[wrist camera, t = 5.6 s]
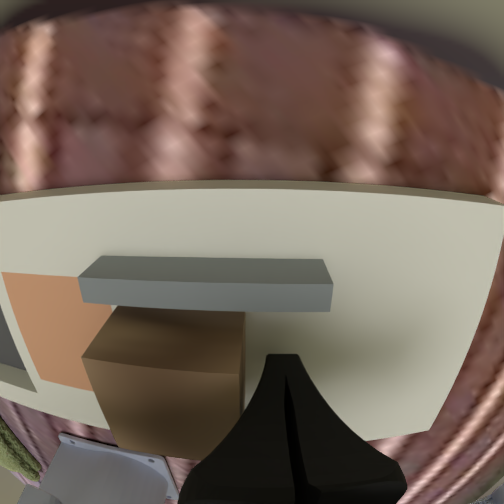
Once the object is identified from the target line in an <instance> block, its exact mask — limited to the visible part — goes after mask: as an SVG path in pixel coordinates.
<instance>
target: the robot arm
mask: <svg viewBox="0 0 504 504" xmlns="http://www.w3.org/2000/svg"><path fill="white" fill-rule="evenodd" d="M58 437H59V439H60V441H61V444H60V446H59V448H58V450H57V452H56V454H55V456H54V458H53V460H52V462H51V464H50V466H49V468H48V470H47V472H46V474H45V476H44V478H43V480H42V482H41V485H40V487H39V488H37V487H35V486H32V485H30V484H26V486H25V488H24V490H23V492H22V494H21V496H20V499H19V501H18V503H17V504H164V503H165V499H166V498H167V499H173V500H178V504H396V503H397V502H398V501H399V499H400V498H401V497H402V496H403V495H404V493H405V492H406V490H407V483H406V479H405V476H404V474H403V472H402V470H401V468H400V466H399V464H398V462H396V461H394V460H393V459H391V458H389V457H388V456H386V455H384V454H382V453H381V452H379V451H378V450H376V449H375V448H373V447H372V446H371V445H369V444H368V443H367V442H365V441H364V440H363V439H362V438H361V437H360V436H358V435H357V434H356V433H355V432H354V431H353V430H351V429H350V428H349V427H348V426H347V425H346V424H345V423H344V422H343V421H342V420H341V419H340V417H339V416H338V415H337V414H336V413H335V412H334V411H333V409H332V408H331V407H330V406H329V404H328V403H327V402H326V401H325V399H324V398H323V396H322V395H321V394H320V392H319V391H318V389H317V388H316V386H315V385H314V383H313V381H312V380H311V378H310V376H309V375H308V373H307V371H306V369H305V367H304V365H303V363H302V361H301V359H300V356H299V355H298V354H268V355H266V360H265V365H264V369H263V372H262V375H261V378H260V381H259V383H258V385H257V388H256V390H255V392H254V394H253V396H252V398H251V400H250V402H249V404H248V406H247V407H246V409H245V411H244V412H243V414H242V415H241V417H240V418H239V420H238V421H237V423H236V424H235V425H234V427H233V428H232V429H231V431H230V432H229V433H228V434H227V436H226V437H225V438H224V439H223V440H222V441H221V442H220V443H219V445H218V446H217V447H216V448H215V449H214V450H213V451H212V452H211V453H210V454H209V455H208V456H207V457H205V458H204V459H203V460H202V461H201V462H200V463H198V464H197V465H196V466H195V467H194V468H193V469H191V471H190V473H189V475H188V476H187V478H186V480H185V482H184V484H183V486H182V488H181V491H180V494H179V492H178V490H177V488H176V485H175V483H174V481H173V478H172V476H171V473H170V471H169V468H168V466H167V463H166V461H165V459H164V458H163V457H162V456H160V455H155V454H149V453H143V452H138V451H133V450H128V449H123V448H118V447H114V446H109V445H105V444H101V443H97V442H93V441H89V440H85V439H82V438H78V437H75V436H71V435H68V434H64V433H60V434H59V436H58ZM470 504H504V483H503V484H501V485H500V486H499V487H497V488H496V489H495V490H494V491H493V493H492V494H491V495H488V496H486V497H484V498H482V499H479V500H477V501H475V502H472V503H470Z"/></svg>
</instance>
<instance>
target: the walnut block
mask: <svg viewBox="0 0 504 504" xmlns="http://www.w3.org/2000/svg"><path fill="white" fill-rule="evenodd" d="M245 317H246V312H242V311H208V310H184V309H164V308H147V307H132V306H117V307H116V308H115V310H114V311H113V312H112V314H111V315H110V317H109V318H108V319H107V321H106V322H105V323H104V325H103V326H102V328H101V329H100V330H99V332H98V333H97V335H96V336H95V338H94V339H93V340H92V342H91V343H90V345H89V346H88V348H87V349H86V351H85V352H84V353H83V355H82V356H81V359H82V362H83V365H84V367H85V370H86V373H87V375H88V378H89V381H90V383H91V386H92V388H93V391H94V393H95V396H96V398H97V401H98V403H99V406H100V408H101V410H102V412H103V415H104V417H105V419H106V421H107V424H108V426H109V428H110V430H111V432H112V434H113V436H114V439H115V441H116V443H117V445H118V447H119V448H124V449H129V450H134V451H139V452H144V453H150V454H156V455H162V456H169V457H176V458H183V459H192V460H201V461H202V460H203V459H204V458H205V457H207V456H208V455H209V454H210V453H211V452H212V451H213V450H214V449H215V448H216V447H217V446H218V445H219V443H220V442H221V441H222V440H223V439H224V438H225V437H226V436H227V434H228V433H229V432H230V431H231V429H232V428H233V427H234V425H235V424H236V423H237V421H238V420H239V418H240V417H241V415H242V414H243V412H244V408H245Z"/></svg>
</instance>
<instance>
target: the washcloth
mask: <svg viewBox="0 0 504 504" xmlns="http://www.w3.org/2000/svg"><path fill="white" fill-rule="evenodd" d="M0 465H1V466H3V467H5V468H6V469H8V470H10V471H15V472H19V473H21V474H22V475H23V476H25V477H26V478H27V479H30V480H32V481H36V482H37V481H39V479H40V475H39V472H37V471H39V470H40V469H41V465H40V463H38V462H37V460H36V459H35V458H34V457H33V456H32V455H31V454H30V453H29V452H28V450H27V449H26V448H25V447H24V446H23V444H22V443H21V442H20V441H19V440H18V439H17V437H16V436H15V435H14V434H13V433H12V431H11V430H10V428H8V426H7V425H6V424H5V422H4V421H3V420H2V418H1V417H0Z"/></svg>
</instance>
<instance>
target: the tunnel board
mask: <svg viewBox="0 0 504 504" xmlns="http://www.w3.org/2000/svg"><path fill="white" fill-rule="evenodd" d="M503 235H504V204H502V203H500V202H497V201H495V200H493V199H490V198H488V197H485V196H481V195H473V194H465V193H457V192H449V191H440V190H430V189H420V188H410V187H398V186H386V185H372V184H357V183H339V182H318V181H287V180H187V181H157V182H136V183H118V184H103V185H90V186H78V187H67V188H56V189H46V190H37V191H28V192H20V193H12V194H5V195H0V396H1V397H3V398H6V399H8V400H11V401H13V402H16V403H19V404H22V405H24V406H27V407H30V408H33V409H36V410H39V411H42V412H45V413H48V414H51V415H55V416H58V417H61V418H65V419H68V420H72V421H76V422H80V423H83V424H87V425H91V426H96V427H100V428H104V429H109V430H110V428H109V426H108V424H107V421H106V419H105V417H104V415H103V412H102V410H101V408H100V406H99V403H98V401H97V398H96V396H95V393H94V391H93V388H92V386H91V383H90V381H89V378H88V375H87V373H86V370H85V367H84V365H83V362H82V359H81V356H82V355H83V353H84V352H85V351H86V349H87V348H88V346H89V345H90V343H91V342H92V340H93V339H94V338H95V336H96V335H97V333H98V332H99V330H100V329H101V328H102V326H103V325H104V323H105V322H106V321H107V319H108V318H109V317H110V315H111V314H112V312H113V311H114V310H115V308H116V307H117V306H132V307H147V308H164V309H184V310H208V311H242V312H246V317H245V408H244V411H245V409H246V407H247V406H248V404H249V402H250V400H251V398H252V396H253V394H254V392H255V390H256V388H257V385H258V383H259V381H260V378H261V375H262V372H263V369H264V365H265V360H266V355H268V354H298V355H299V356H300V359H301V361H302V363H303V365H304V367H305V369H306V371H307V373H308V375H309V376H310V378H311V380H312V381H313V383H314V385H315V386H316V388H317V389H318V391H319V392H320V394H321V395H322V396H323V398H324V399H325V401H326V402H327V403H328V404H329V406H330V407H331V408H332V409H333V411H334V412H335V413H336V414H337V415H338V416H339V417H340V419H341V420H342V421H343V422H344V423H345V424H346V425H347V426H348V427H349V428H350V429H351V430H353V431H354V432H355V433H356V434H357V435H358V436H360V437H361V438H362V439H363V440H364V441H368V440H375V439H382V438H389V437H395V436H401V435H406V434H412V433H417V432H422V431H426V430H429V429H430V427H431V425H432V424H433V422H434V420H435V418H436V416H437V415H438V413H439V411H440V409H441V407H442V405H443V403H444V401H445V400H446V398H447V396H448V394H449V392H450V390H451V388H452V385H453V383H454V381H455V379H456V377H457V375H458V373H459V370H460V368H461V366H462V364H463V361H464V359H465V357H466V354H467V352H468V350H469V347H470V345H471V342H472V340H473V337H474V334H475V332H476V329H477V326H478V324H479V321H480V318H481V315H482V312H483V309H484V306H485V303H486V300H487V297H488V294H489V290H490V287H491V284H492V280H493V277H494V273H495V269H496V265H497V262H498V258H499V253H500V249H501V245H502V240H503Z"/></svg>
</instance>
